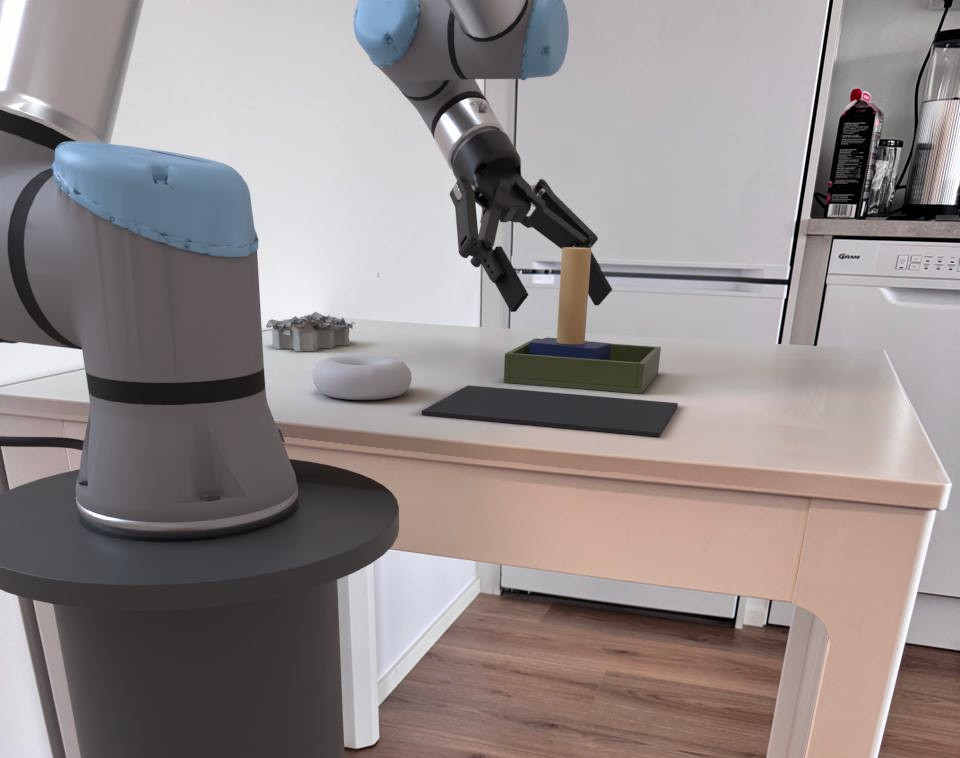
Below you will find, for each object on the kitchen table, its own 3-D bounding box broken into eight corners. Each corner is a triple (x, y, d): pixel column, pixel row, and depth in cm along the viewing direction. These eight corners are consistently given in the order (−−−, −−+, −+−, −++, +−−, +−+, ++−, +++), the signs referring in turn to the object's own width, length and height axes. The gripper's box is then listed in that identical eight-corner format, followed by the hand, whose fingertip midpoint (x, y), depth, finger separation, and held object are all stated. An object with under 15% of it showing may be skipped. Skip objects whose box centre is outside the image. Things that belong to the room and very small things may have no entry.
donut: (378, 383, 103) (294, 389, 97) (378, 350, 101) (293, 354, 96) (430, 398, 96) (344, 406, 90) (431, 363, 94) (343, 369, 89)
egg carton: (304, 353, 119) (302, 319, 117) (261, 347, 123) (259, 314, 121) (360, 344, 127) (359, 312, 125) (318, 338, 131) (316, 307, 129)
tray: (503, 382, 104) (504, 353, 103) (533, 364, 116) (534, 338, 114) (641, 393, 100) (644, 363, 99) (658, 374, 112) (661, 346, 110)
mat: (421, 414, 88) (421, 410, 88) (467, 389, 100) (467, 385, 100) (658, 437, 82) (659, 432, 82) (677, 406, 94) (677, 402, 94)
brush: (528, 369, 109) (534, 247, 103) (545, 363, 113) (551, 245, 107) (593, 376, 106) (603, 250, 100) (608, 370, 110) (618, 249, 104)
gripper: (407, 118, 100) (498, 281, 97) (570, 132, 115) (654, 273, 112) (379, 174, 106) (463, 329, 103) (538, 180, 121) (616, 316, 118)
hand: (563, 300), depth 107 cm, fingers open, 13 cm apart
